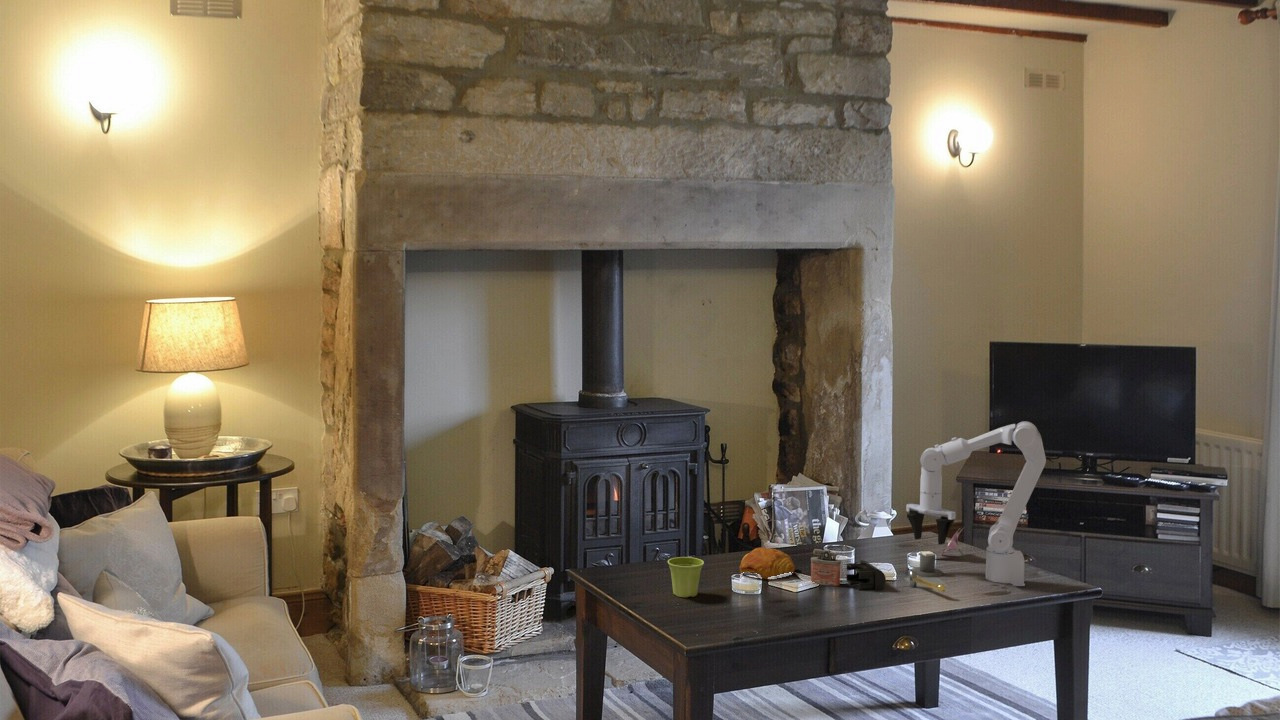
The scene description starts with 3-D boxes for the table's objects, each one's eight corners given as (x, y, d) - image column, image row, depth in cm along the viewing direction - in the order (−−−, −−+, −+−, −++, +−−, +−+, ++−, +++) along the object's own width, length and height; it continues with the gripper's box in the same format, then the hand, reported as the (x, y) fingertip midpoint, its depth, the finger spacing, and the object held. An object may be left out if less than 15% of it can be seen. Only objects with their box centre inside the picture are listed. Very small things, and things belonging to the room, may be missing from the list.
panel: (952, 581, 304) (952, 576, 304) (971, 594, 291) (971, 590, 291) (894, 582, 303) (894, 577, 302) (911, 596, 290) (911, 591, 290)
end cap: (885, 594, 291) (886, 568, 291) (860, 595, 290) (860, 570, 289) (870, 584, 301) (871, 559, 301) (845, 585, 300) (846, 560, 299)
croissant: (761, 572, 321) (758, 544, 321) (804, 575, 310) (801, 545, 310) (727, 580, 311) (725, 551, 311) (770, 583, 300) (768, 553, 300)
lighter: (841, 587, 297) (842, 550, 297) (838, 590, 294) (839, 553, 294) (812, 583, 301) (813, 546, 300) (808, 586, 298) (809, 549, 297)
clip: (946, 598, 283) (947, 583, 283) (940, 599, 283) (941, 583, 282) (913, 585, 295) (914, 570, 295) (908, 585, 295) (908, 570, 294)
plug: (933, 571, 312) (934, 548, 312) (947, 579, 305) (948, 555, 304) (907, 573, 311) (907, 549, 310) (920, 580, 303) (920, 556, 303)
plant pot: (707, 591, 293) (708, 558, 292) (697, 601, 284) (698, 567, 283) (673, 588, 296) (673, 555, 295) (662, 597, 287) (662, 564, 286)
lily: (958, 556, 336) (943, 527, 337) (987, 548, 327) (971, 519, 327) (935, 574, 329) (919, 545, 330) (964, 567, 320) (948, 537, 320)
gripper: (900, 490, 310) (898, 538, 311) (945, 498, 299) (944, 548, 300) (915, 487, 314) (913, 534, 315) (960, 494, 303) (959, 544, 304)
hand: (929, 541), depth 308 cm, fingers open, 7 cm apart
